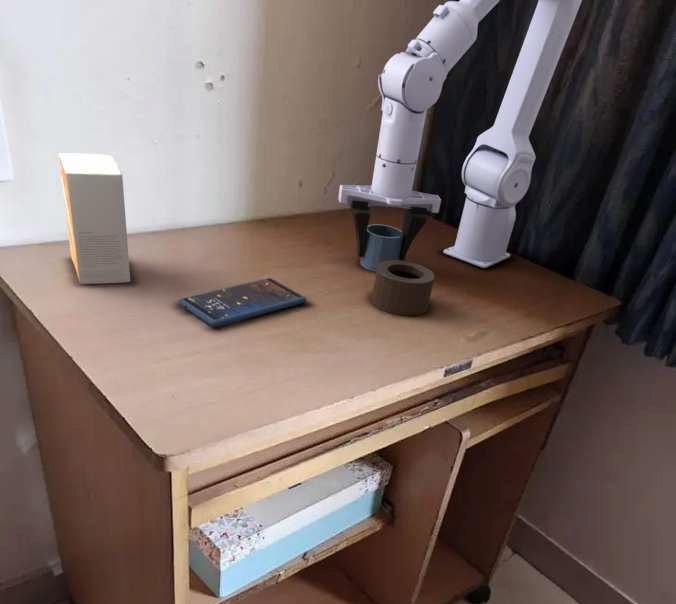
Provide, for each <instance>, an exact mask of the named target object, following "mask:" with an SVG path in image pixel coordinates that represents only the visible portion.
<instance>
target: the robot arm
mask: <svg viewBox="0 0 676 604" xmlns="http://www.w3.org/2000/svg"><path fill="white" fill-rule="evenodd" d="M500 1H501V0H459V1H455V0H454V1H452V0H450V1H446V2H445V3H444V4H439V5H438V6H436V8H435V9H434V11H432V14H433V17H432V18H431V20H430V21H429V22H428V23H427V25H425V27H424V28H422V30H421V31H420V33H419V34H418V35H417V36H416V37H415V39H411V41H410V42H409V43H408V44H407V48H406V50H405V52H403V51H402V52H399V53H395V54H394V55H393V56H392V57H390V58H389V60H388V61H387V62H386V64H384V66H383V67H384V68H383V69H382V73H381V74H378V78H377V85H378V90H379V93H380V95H381V99H382V102H381V109H380V110H381V111H382V115H381V121H380V129H379V137H378V141H377V147H376V154H375V161H374V168H373V174H372V182H371V185H346V184H340V185H339V191H338V197H337V199H338V201H339V203H340V204H345V205H347V204H348V203H349V207H350V210H351V214H352V219H353V223H354V229H355V236H356V237H355V238H356V239H355V240H356V254H357V257H358V258H361V257H363V255H364V249H365V238H366V232H367V228H368V225H369V222H370V218H371V213H370V207H369V205H370V206H380V207H386V208H387V207H388V208H399V209H403V220H402V228H401V231H402V232H403V233H404V235H403V240H402V246H401V251H400V256H399V260H400V261H405V259H406V256H407V254H408V251H409V249H410V247H411V245H412V243H413V241H414V239H415V238H416V236H417V235H418V234H419V232H420V231H421V229H422V228H423V227H424V226H425V225H426V223H427V222H428V217H429V215H428V213H427V212H430V213H432V214H433V213H434V214H439V211H440V208H441V203H442V198H440V196H439V195H437V194H431V193H426V192H425V193H424V192H420V191H415V190H413V185H414V182H415V181H414V180H415V177H416V176H415V175H416V170H417V165H418V160H419V154H420V148H421V144H422V138H423V132H424V127H425V123H426V118H427V113H428V109H430V108H431V107H432V106H433V105H434V104H436V103H437V102H438V100H439V98H440V96H441V93H442V89H443V84H444V83H445V80H446V79H447V76H448V73H449V72H450V71H451V70H452V69H453V68H454V66H455V65H456V64H458V62H459V60H461V59H462V57H463V56H464V55H465V54H466V52H467V51H468V50H469V49H470V48H471V47H472V46H473V44H474V43H475V42H476V41H477V37H478V27H479V23H480V22H481V21H482V20H483V19H484V18H485V17H486V16H487V15H488V14H489V12H490V11H491V10H492V9H493V8H494V7H496V5H497V4H498V3H499V2H500ZM582 1H583V0H538V2H537V5H536V6H535V7H536V8H535V10H534V13H533V16H532V18H531V21H530V24H529V27H528V29H527V32H526V35H525V38H524V40H523V43H522V45H521V49H520V51H519V54H518V57H517V59H516V63H515V65H514V68H513V71H512V74H511V77H510V79H509V82H508V85H507V86H506V87H507V88H506V91H505V93H504V95H503V96H504V97H503V98H502V101H501V104H500V107H499V110H498V112H497V115H496V118H495V120H494V123H493V126H491V127H490V128H489V129H487V130H485V131H484V132H482V133H480V134H479V135H478V136H477V138H476V142H475V144H474V146H473V148H472V149H471V151H470V152H469V154H468V155H467V156H466V158H465V160H464V162H463V165H462V169H461V181H462V184H463V185H464V186H465V187H464V188H465V189H464V194H466V197H465V201H464V205H463V209H462V213H461V218H460V222H459V226H458V231H457V234H456V239H455V243H454V245H453V246H450V247H447V248H445V249H443V252H442V253H443V254H445V255H447V256H450V257H452V258H455V259H458V260H461V261H462V262H466V263H468V264H471V265H474V266H476V267H479V268H482V269H486V268H489V267H491V266H494V265H496V264H498V263H501V262H502V261H504V260H506V259H508V258H511V254H510V253H509V252H507V249H508V245H509V242H510V239H511V236H512V232H513V229H514V226H515V222H516V219H517V218H516V217H517V212H516V206H517V205H516V204H517V203H519V202H520V201H521V200H522V199H523V198H524V196H525V195H526V194H527V192H528V190H529V188H530V184H531V179H532V171H533V166H534V163H535V161H536V154H535V151H534V148H533V146H532V144H531V141H530V135H531V132H532V128H533V127H534V124H535V122H536V119H537V116H538V114H539V112H540V109H541V106H542V103H543V101H544V100H545V99H544V98H545V97H546V94H547V91H548V88H549V85H550V83H551V80H552V78H553V76H554V73H555V71H556V68H557V66H558V62H559V60H560V58H561V55H562V52H563V50H564V48H565V45H566V43H567V40H568V37H569V34H570V33H571V29H572V28H573V25H574V22H575V19H576V18H577V14H578V12H579V9H580V7H581V4H582ZM500 152H502V153H504V154H502V153H500Z"/></svg>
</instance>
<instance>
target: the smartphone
mask: <svg viewBox="0 0 676 604" xmlns="http://www.w3.org/2000/svg"><path fill="white" fill-rule="evenodd" d="M306 302H307V298H306V296H304V295H303V294H301V293H299V292H297V291H295V290H293V289H292V288H290V287H288V286H286V285H284V284H283V283H281V282H279V281H277V280H275V279H273V278H272V277H267V278H262V279H258V280H253V281H250V282H246V283H241V284H237V285H233V286H228V287H223V288H220V289H215V290H211V291H207V292H201V293H198V294H194V295H189V296H184V297H180V298H179V299H178V305H179V306H181V307H182V308H183V309H186V310H187V311H188V312H190V313H192V314H193V315H194V316H196V317H197V318H199V319H201V320H202V321H204V322H205V323H206V324H208V325H210V326H212V327H215V328H216V327H221V326H223V325H227V324H231V323H235V322H239V321H243V320H246V319H249V318H254V317H256V316H261V315H265V314H267V313H268V314H269V313H271V312H275V311H278V310H282V309H286V308H290V307H294V306H297V305H301V304H304V303H306Z"/></svg>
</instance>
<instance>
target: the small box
mask: <svg viewBox="0 0 676 604" xmlns="http://www.w3.org/2000/svg"><path fill="white" fill-rule="evenodd" d="M58 161H59V162H58V163H59V169H60V176H61V185H62V191H63V200H64V209H65V215H66V222H67V231H68V241H69V248H70V255H71V261H72V263H73V266H74V269H75V272H76V275H77V279H78V282H79V284H80V285H94V284H123V283H124V284H125V283H131V272H130V270H131V269H130V259H129V245H128V231H127V218H126V217H127V216H126V207H125V205H126V204H125V191H124V181H123V174H122V171H121V169H120V168H119V165H118V163H117V162H116V160H115V159H114V157H113V156H112V155H109V154H94V153H93V154H92V153H58Z"/></svg>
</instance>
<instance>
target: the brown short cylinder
mask: <svg viewBox="0 0 676 604" xmlns="http://www.w3.org/2000/svg"><path fill="white" fill-rule="evenodd" d="M434 281H435V274H434V272H433V271H432V270H431V269H429V268H428V267H425V266H423V265H421V264H419V263H417V262H413V261H406V260H404V261H400V260H390V261H384V262H381V263H380V264H379V265H378V266H377V270H376V272H375V277H374V283H373V289H372V294H371V296H372V297H371V301H372V304H374V306H375V307H377V308H378V309H380V310H382V311H384V312H386V313H389V314H393V315H396V316H397V315H398V316H405V317H406V316H407V317H411V316H419V315H422V314H424V313H426V311H428V307H429V303H430V300H431V295H432V290H433V286H434Z"/></svg>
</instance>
